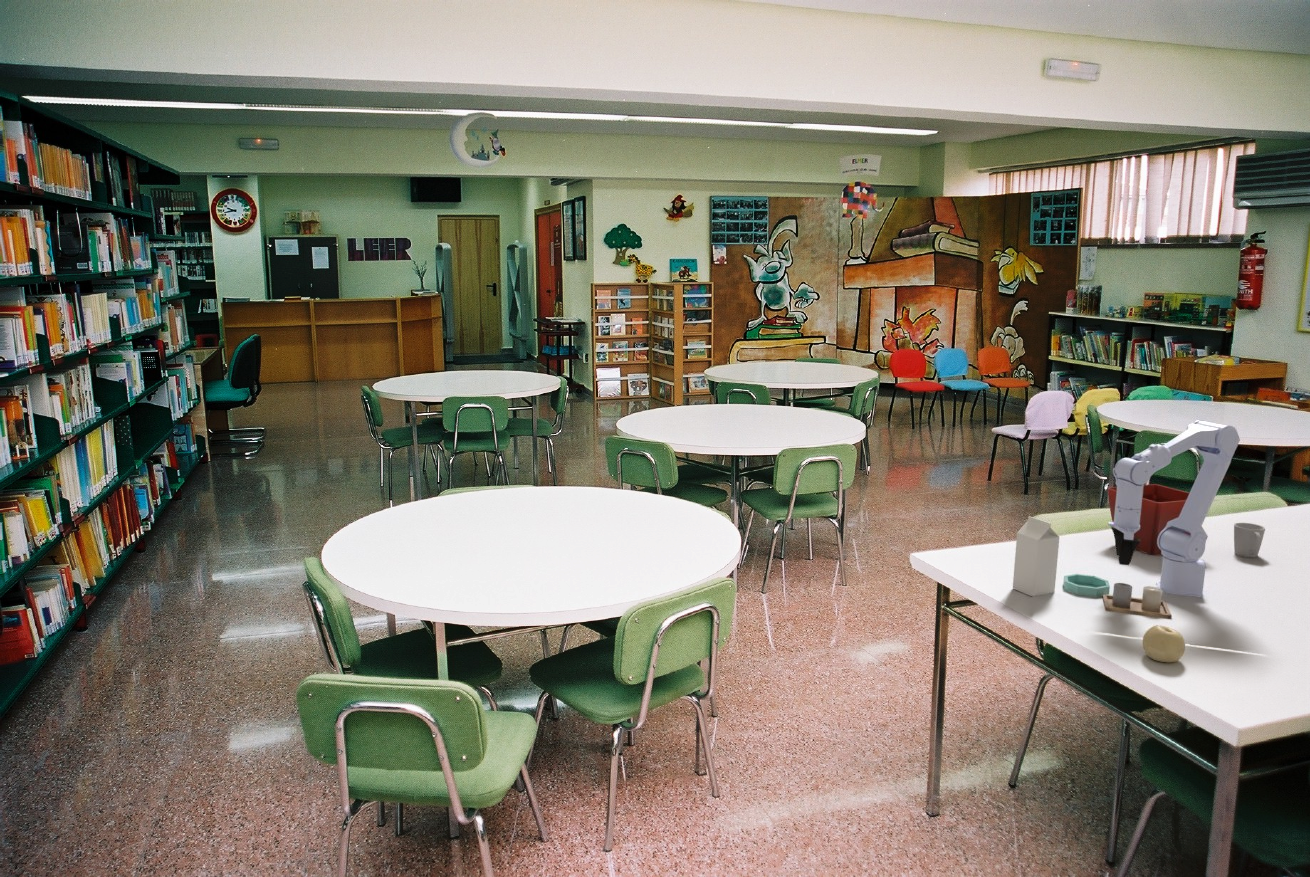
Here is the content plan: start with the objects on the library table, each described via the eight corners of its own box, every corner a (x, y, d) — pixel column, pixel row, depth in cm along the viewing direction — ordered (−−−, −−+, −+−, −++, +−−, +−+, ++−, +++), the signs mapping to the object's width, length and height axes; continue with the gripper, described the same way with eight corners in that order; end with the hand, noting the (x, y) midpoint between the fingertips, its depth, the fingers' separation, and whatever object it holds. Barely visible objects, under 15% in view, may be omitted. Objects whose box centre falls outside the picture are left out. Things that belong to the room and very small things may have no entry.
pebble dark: (1129, 603, 227) (1131, 584, 226) (1131, 609, 223) (1133, 589, 222) (1111, 601, 228) (1113, 582, 228) (1112, 606, 225) (1114, 587, 224)
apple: (1130, 649, 201) (1146, 617, 201) (1166, 668, 199) (1182, 636, 200) (1144, 652, 193) (1161, 619, 193) (1181, 672, 191) (1198, 639, 192)
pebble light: (1158, 607, 225) (1160, 587, 224) (1161, 612, 221) (1163, 592, 220) (1140, 604, 226) (1142, 585, 225) (1142, 610, 223) (1144, 590, 222)
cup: (1253, 551, 271) (1257, 523, 269) (1271, 561, 261) (1275, 532, 260) (1225, 550, 272) (1229, 522, 270) (1242, 560, 262) (1246, 531, 261)
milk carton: (1033, 597, 232) (1039, 524, 229) (1012, 588, 239) (1018, 517, 235) (1054, 594, 235) (1061, 521, 231) (1033, 585, 241) (1039, 514, 238)
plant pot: (1150, 536, 286) (1156, 483, 282) (1204, 554, 268) (1211, 498, 265) (1100, 541, 280) (1106, 487, 276) (1152, 560, 262) (1158, 503, 259)
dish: (1106, 586, 240) (1107, 577, 240) (1109, 600, 231) (1110, 590, 230) (1062, 581, 244) (1063, 572, 243) (1064, 594, 234) (1065, 584, 234)
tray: (1165, 605, 227) (1165, 601, 227) (1171, 620, 218) (1171, 615, 218) (1102, 598, 232) (1102, 593, 232) (1105, 612, 223) (1105, 607, 223)
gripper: (1107, 498, 236) (1102, 549, 239) (1112, 512, 223) (1107, 566, 225) (1138, 501, 234) (1133, 553, 236) (1145, 515, 220) (1139, 570, 223)
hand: (1122, 559), depth 231 cm, fingers open, 7 cm apart
